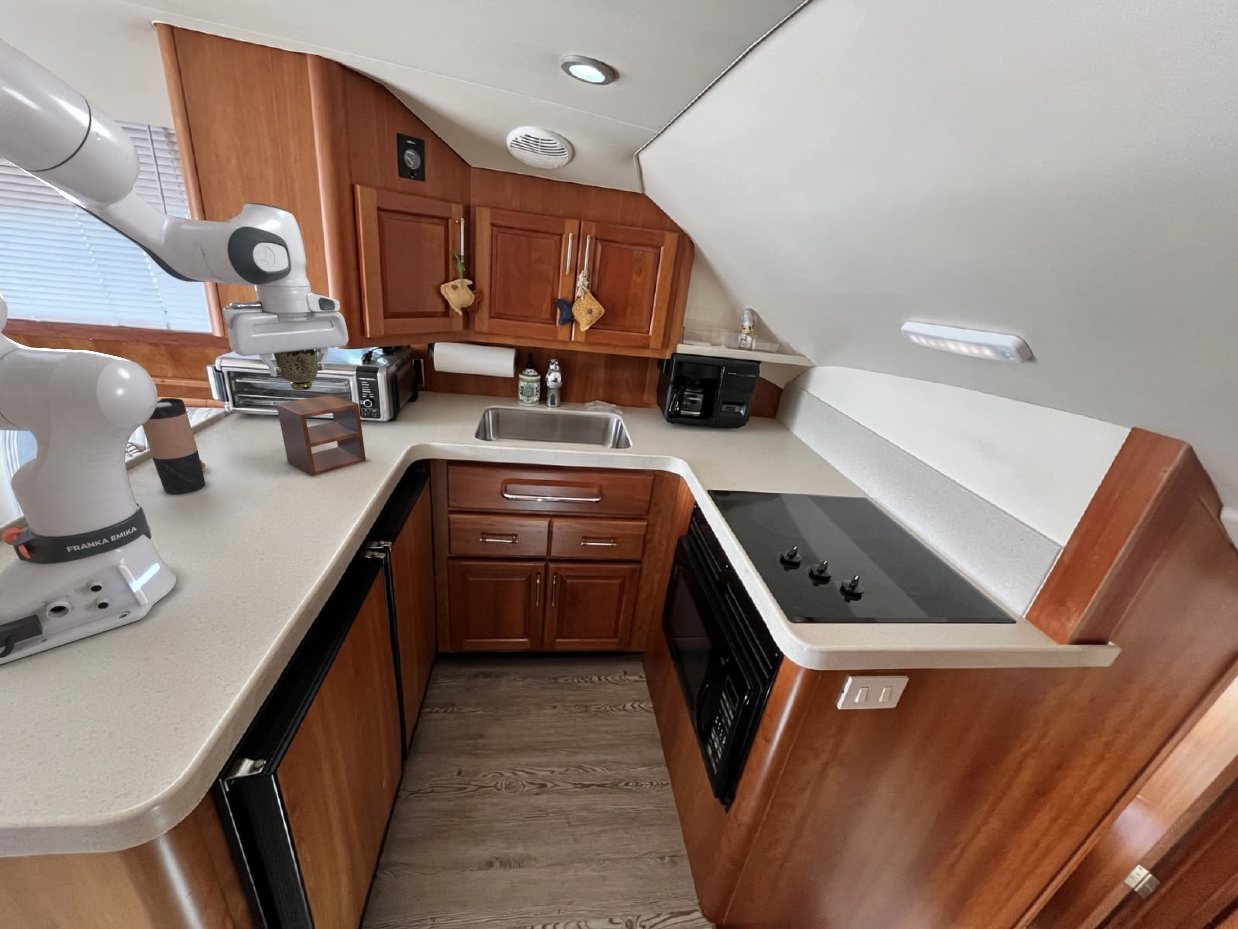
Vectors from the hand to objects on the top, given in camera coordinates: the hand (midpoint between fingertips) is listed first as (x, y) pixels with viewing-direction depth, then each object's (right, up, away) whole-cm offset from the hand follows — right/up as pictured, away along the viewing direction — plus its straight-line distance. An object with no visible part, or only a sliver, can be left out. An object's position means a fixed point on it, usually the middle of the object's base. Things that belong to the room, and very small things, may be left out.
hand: (298, 372), depth 98 cm
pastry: (-42, -20, +21) cm, 51 cm away
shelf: (-13, -18, +31) cm, 38 cm away
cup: (0, -3, +1) cm, 3 cm away
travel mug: (-34, -24, +13) cm, 44 cm away
